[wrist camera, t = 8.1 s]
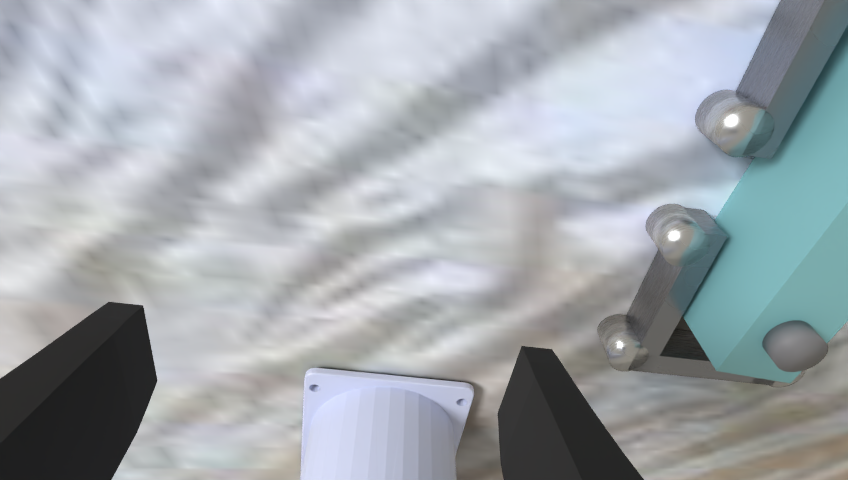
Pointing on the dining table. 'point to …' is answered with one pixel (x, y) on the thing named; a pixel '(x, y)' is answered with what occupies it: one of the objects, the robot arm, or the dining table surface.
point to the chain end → (670, 301)
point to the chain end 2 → (774, 79)
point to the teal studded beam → (784, 246)
